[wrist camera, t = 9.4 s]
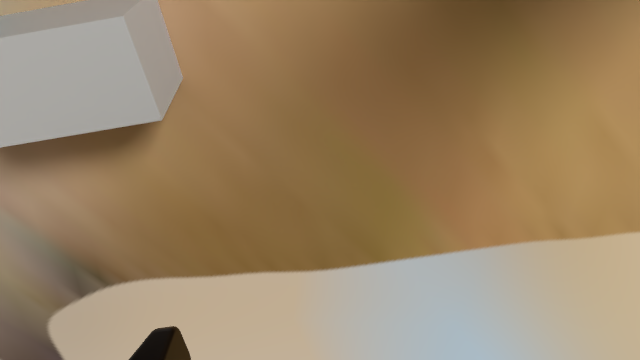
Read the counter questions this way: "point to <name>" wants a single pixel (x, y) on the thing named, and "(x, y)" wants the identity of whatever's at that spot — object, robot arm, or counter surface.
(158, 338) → the robot arm
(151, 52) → the grey brick
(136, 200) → the counter surface
